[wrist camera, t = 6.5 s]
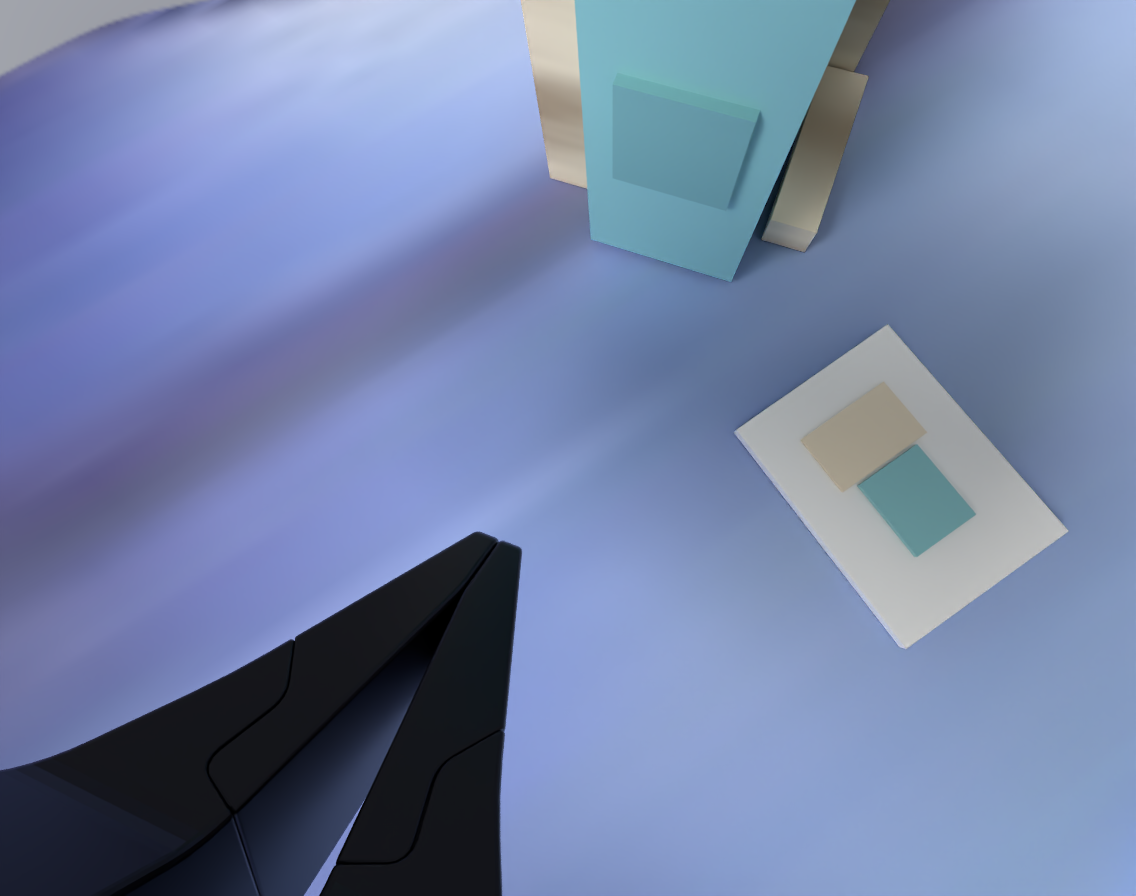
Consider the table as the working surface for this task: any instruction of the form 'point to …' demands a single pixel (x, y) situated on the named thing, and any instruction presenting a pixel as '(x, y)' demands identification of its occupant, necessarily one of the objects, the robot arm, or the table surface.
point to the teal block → (694, 117)
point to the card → (899, 486)
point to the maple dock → (814, 148)
